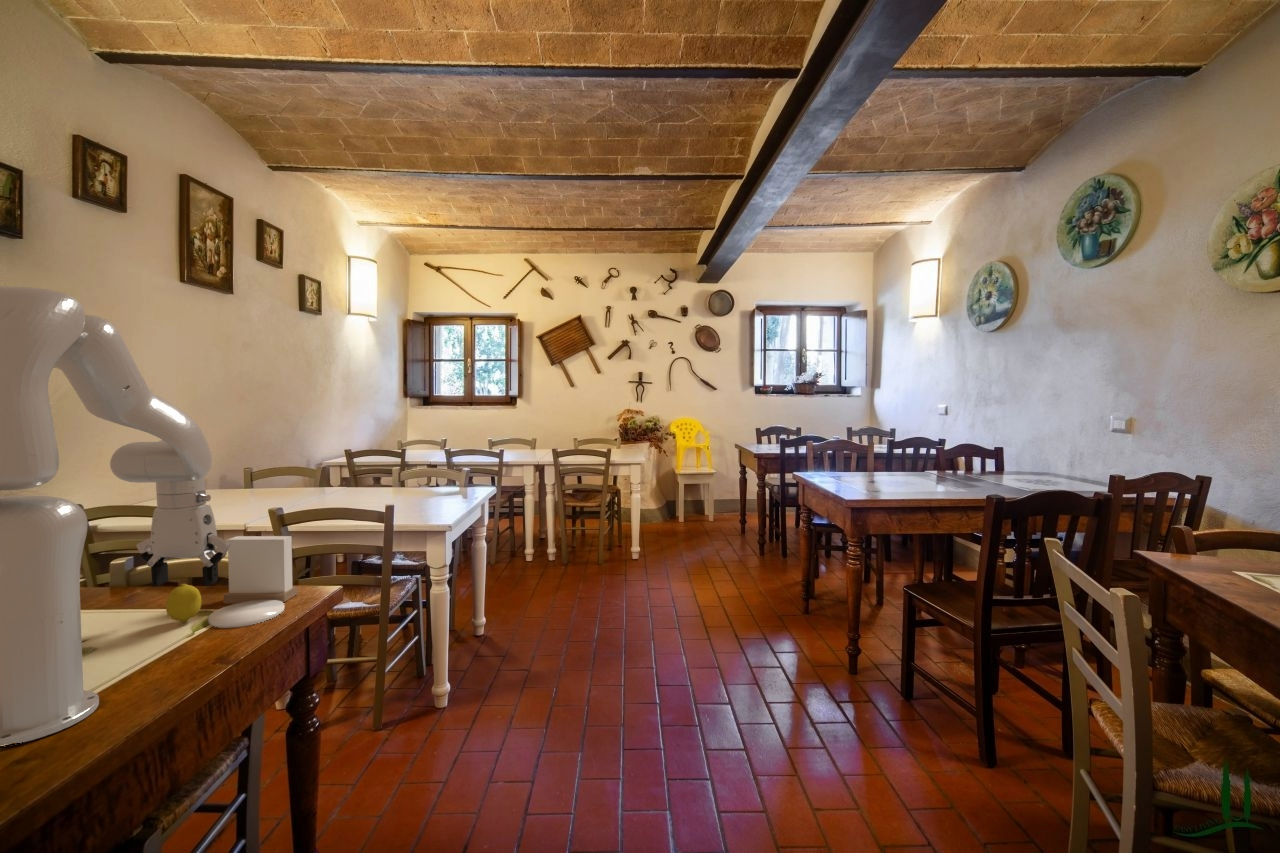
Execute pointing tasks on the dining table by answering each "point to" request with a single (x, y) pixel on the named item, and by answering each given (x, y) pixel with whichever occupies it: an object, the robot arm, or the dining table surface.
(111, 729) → the dining table surface
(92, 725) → the dining table surface
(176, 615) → the lemon
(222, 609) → the white round disc
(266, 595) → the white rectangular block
